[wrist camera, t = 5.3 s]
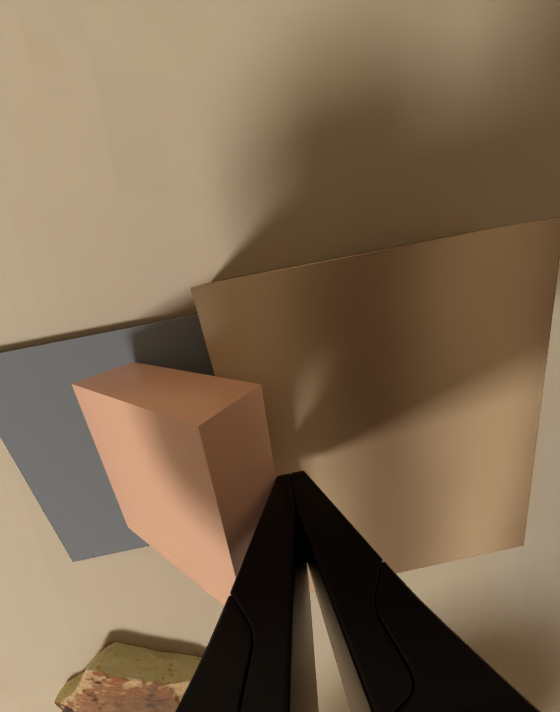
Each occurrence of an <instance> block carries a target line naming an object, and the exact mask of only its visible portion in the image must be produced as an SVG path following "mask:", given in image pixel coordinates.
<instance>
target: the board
mask: <svg viewBox="0 0 560 712" xmlns="http://www.w3.org/2000/svg"><path fill="white" fill-rule="evenodd" d="M559 259H560V217H556V218H550V219H544V220H538V221H533V222H527V223H521V224H516V225H510V226H504V227H498V228H493V229H487V230H481V231H476V232H471V233H465V234H460V235H455V236H450V237H445V238H439V239H434V240H429V241H424V242H419V243H413V244H408V245H403V246H398V247H393V248H387V249H382V250H377V251H372V252H367V253H361V254H356V255H351V256H346V257H341V258H335V259H330V260H325V261H320V262H315V263H309V264H304V265H299V266H294V267H289V268H283V269H278V270H273V271H268V272H263V273H257V274H252V275H247V276H242V277H237V278H231V279H226V280H221V281H216V282H211V283H207V284H203V285H199V286H196V287H192V288H191V291H192V295H193V299H194V302H195V306H196V309H197V313H198V317H199V320H200V324H201V327H202V331H203V335H204V338H205V342H206V346H207V349H208V353H209V356H210V360H211V364H212V367H213V371H214V375H215V376H217V377H222V378H228V379H234V380H240V381H246V382H251V383H257V384H261V387H262V394H263V400H264V406H265V413H266V419H267V425H268V432H269V438H270V444H271V451H272V457H273V463H274V470H275V476H276V477H277V476H278V475H283V474H288V473H289V474H291V473H292V472H297V471H305V472H306V473H307V474H308V476H309V477H310V478H311V479H312V480H313V481H314V482H315V483H316V485H317V486H318V487H319V488H320V489H321V490H322V491H323V492H324V494H325V495H326V496H327V497H328V498H329V499H330V500H331V501H332V503H333V504H334V505H335V506H336V507H337V508H338V509H339V510H340V512H341V513H342V514H343V515H344V516H345V517H346V518H347V519H348V521H349V522H350V523H351V524H352V525H353V526H354V527H355V528H356V530H357V531H358V532H359V533H360V534H361V535H362V536H363V537H364V539H365V540H366V541H367V542H368V543H369V544H370V545H371V546H372V548H373V549H374V550H375V551H376V552H377V553H378V554H379V555H380V557H381V558H382V559H383V562H386V563H387V564H388V565H389V567H390V568H391V569H392V570H393V571H394V572H395V573H400V572H404V571H409V570H413V569H418V568H422V567H427V566H432V565H436V564H441V563H445V562H450V561H454V560H459V559H464V558H468V557H473V556H477V555H482V554H486V553H491V552H495V551H500V550H505V549H509V548H514V547H518V546H523V545H524V537H525V529H526V522H527V514H528V506H529V498H530V490H531V482H532V474H533V466H534V458H535V450H536V442H537V434H538V426H539V418H540V410H541V402H542V394H543V386H544V378H545V370H546V362H547V354H548V346H549V338H550V330H551V322H552V314H553V306H554V298H555V290H556V283H557V275H558V267H559ZM307 565H308V563H307ZM308 577H309V590H310V592H313V591H315V588H314V584H313V581H312V578H311V574H310V571H309V567H308Z"/></svg>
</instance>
